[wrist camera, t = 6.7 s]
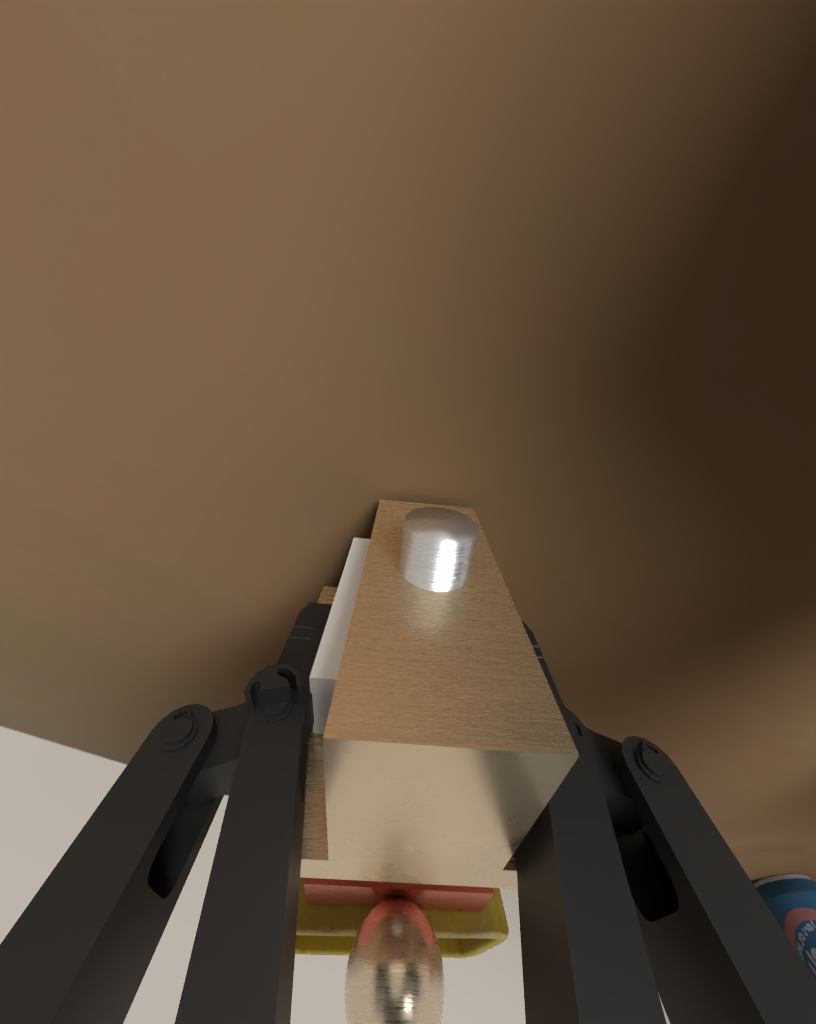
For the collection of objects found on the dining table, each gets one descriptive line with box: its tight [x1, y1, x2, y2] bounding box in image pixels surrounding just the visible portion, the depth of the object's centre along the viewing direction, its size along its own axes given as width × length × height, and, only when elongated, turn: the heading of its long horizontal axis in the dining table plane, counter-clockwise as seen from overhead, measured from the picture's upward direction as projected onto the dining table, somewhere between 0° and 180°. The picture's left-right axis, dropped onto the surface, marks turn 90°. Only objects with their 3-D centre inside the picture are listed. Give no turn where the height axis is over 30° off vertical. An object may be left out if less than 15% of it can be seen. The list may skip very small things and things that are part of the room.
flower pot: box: [295, 877, 509, 958], centre depth 16 cm, size 9×9×9 cm
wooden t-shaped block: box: [300, 499, 579, 1024], centre depth 10 cm, size 9×13×11 cm
